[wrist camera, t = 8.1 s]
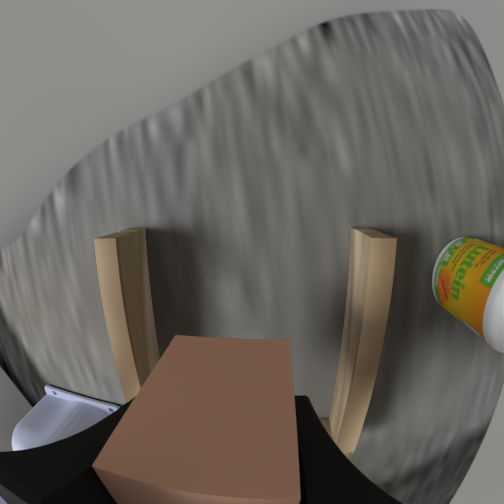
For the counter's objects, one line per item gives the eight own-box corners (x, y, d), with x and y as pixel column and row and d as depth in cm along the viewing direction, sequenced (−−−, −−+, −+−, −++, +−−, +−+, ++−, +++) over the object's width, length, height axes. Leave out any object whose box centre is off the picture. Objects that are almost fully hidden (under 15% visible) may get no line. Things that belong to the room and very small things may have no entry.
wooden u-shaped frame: (159, 420, 21) (144, 452, 17) (127, 228, 18) (94, 238, 14) (342, 427, 20) (350, 462, 16) (371, 227, 17) (396, 238, 13)
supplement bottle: (450, 221, 16) (557, 250, 7) (493, 254, 16) (584, 293, 7) (416, 293, 17) (503, 367, 8) (462, 318, 17) (540, 383, 8)
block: (187, 414, 12) (142, 535, 5) (175, 334, 11) (91, 465, 4) (283, 421, 12) (283, 554, 5) (289, 339, 11) (300, 498, 4)
